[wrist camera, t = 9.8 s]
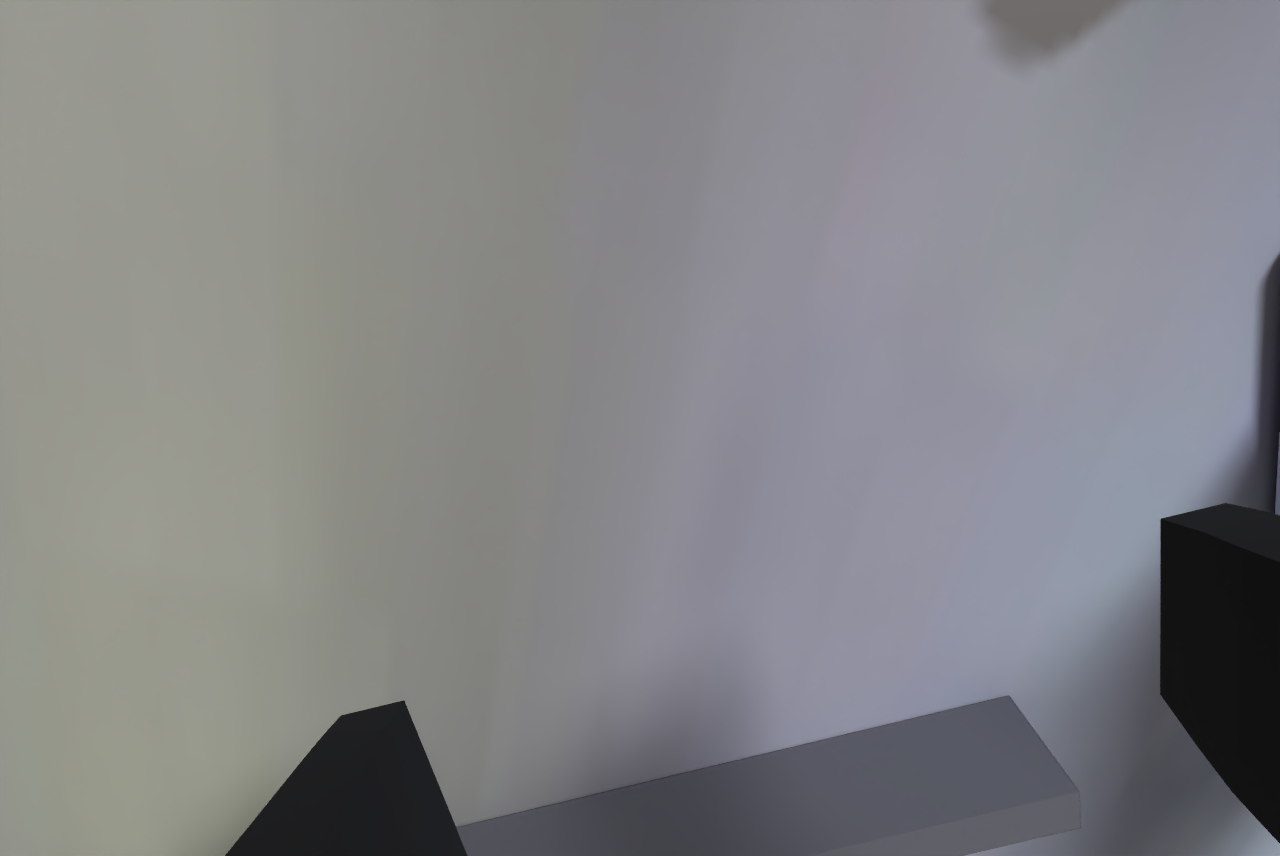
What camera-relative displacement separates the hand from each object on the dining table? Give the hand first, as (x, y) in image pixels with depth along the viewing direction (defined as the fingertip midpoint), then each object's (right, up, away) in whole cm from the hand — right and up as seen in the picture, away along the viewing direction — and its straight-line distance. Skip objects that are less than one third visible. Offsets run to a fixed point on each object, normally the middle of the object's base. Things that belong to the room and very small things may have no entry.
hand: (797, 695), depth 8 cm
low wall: (-2, -6, +13) cm, 14 cm away
